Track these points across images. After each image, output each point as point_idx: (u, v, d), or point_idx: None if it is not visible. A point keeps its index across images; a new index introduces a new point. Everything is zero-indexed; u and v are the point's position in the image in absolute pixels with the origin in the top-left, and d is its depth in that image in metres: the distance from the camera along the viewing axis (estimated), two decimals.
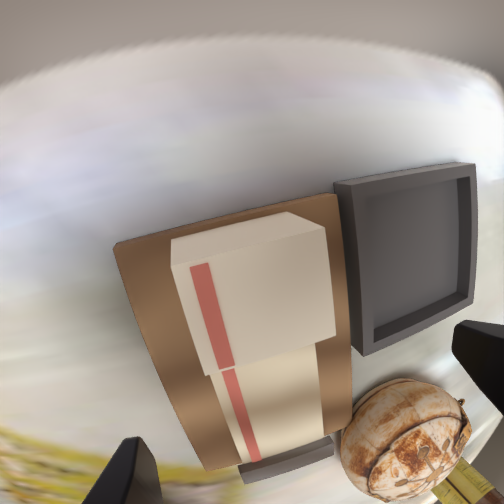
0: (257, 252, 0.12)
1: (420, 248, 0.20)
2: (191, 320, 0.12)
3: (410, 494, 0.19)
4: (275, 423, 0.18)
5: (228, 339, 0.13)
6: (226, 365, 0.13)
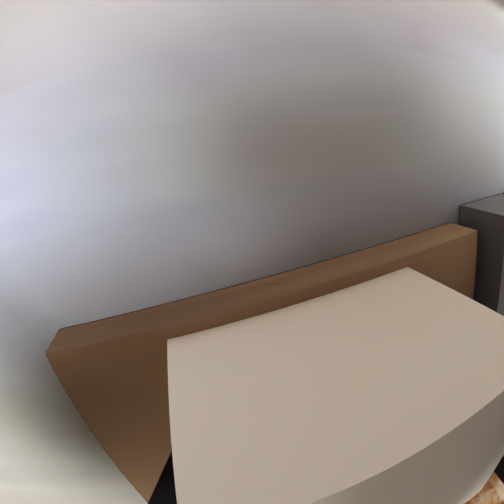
0: (439, 448, 0.03)
1: None
2: None
3: None
4: None
5: None
6: None
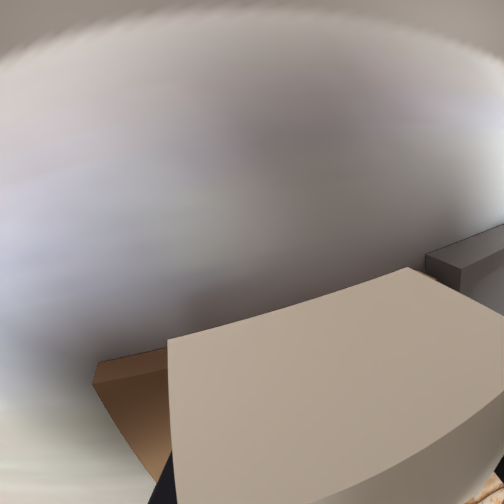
0: (439, 448, 0.03)
1: None
2: None
3: None
4: None
5: None
6: None
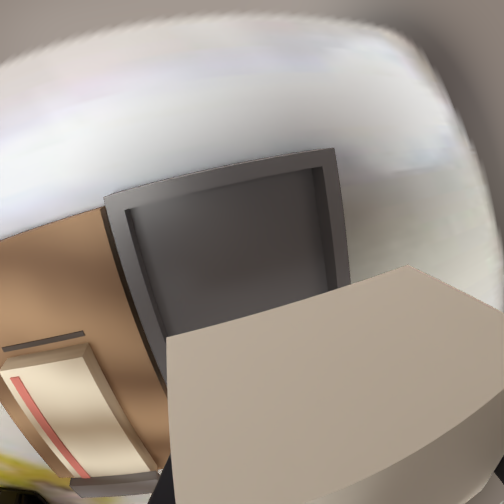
0: (441, 445, 0.03)
1: (249, 268, 0.17)
2: None
3: None
4: (85, 445, 0.15)
5: None
6: None
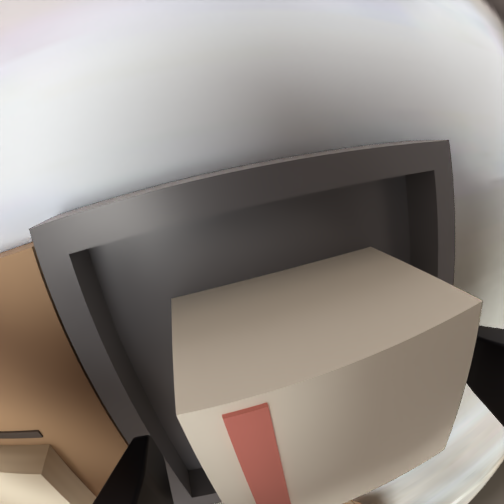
0: (374, 367, 0.05)
1: None
2: (223, 488, 0.05)
3: None
4: None
5: (289, 500, 0.05)
6: None
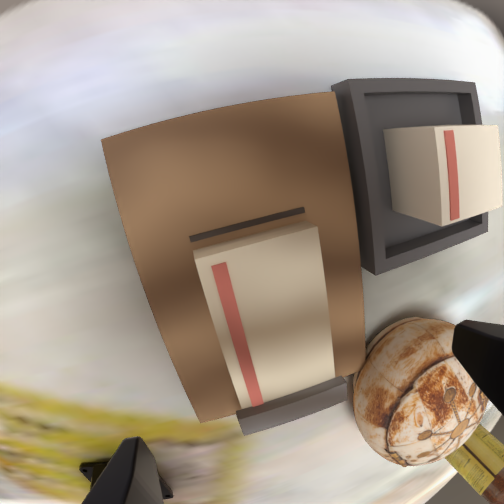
0: (473, 130, 0.13)
1: None
2: (441, 172, 0.14)
3: (432, 454, 0.18)
4: (278, 352, 0.17)
5: (458, 194, 0.14)
6: (455, 217, 0.14)
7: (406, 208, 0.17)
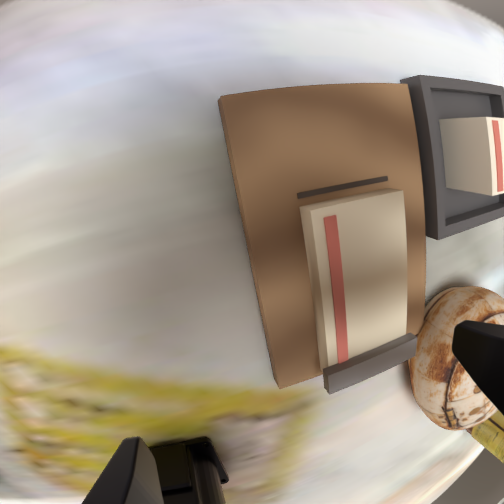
0: None
1: None
2: (491, 152, 0.15)
3: (481, 411, 0.19)
4: (367, 305, 0.18)
5: (502, 171, 0.16)
6: (501, 189, 0.16)
7: (459, 184, 0.19)
